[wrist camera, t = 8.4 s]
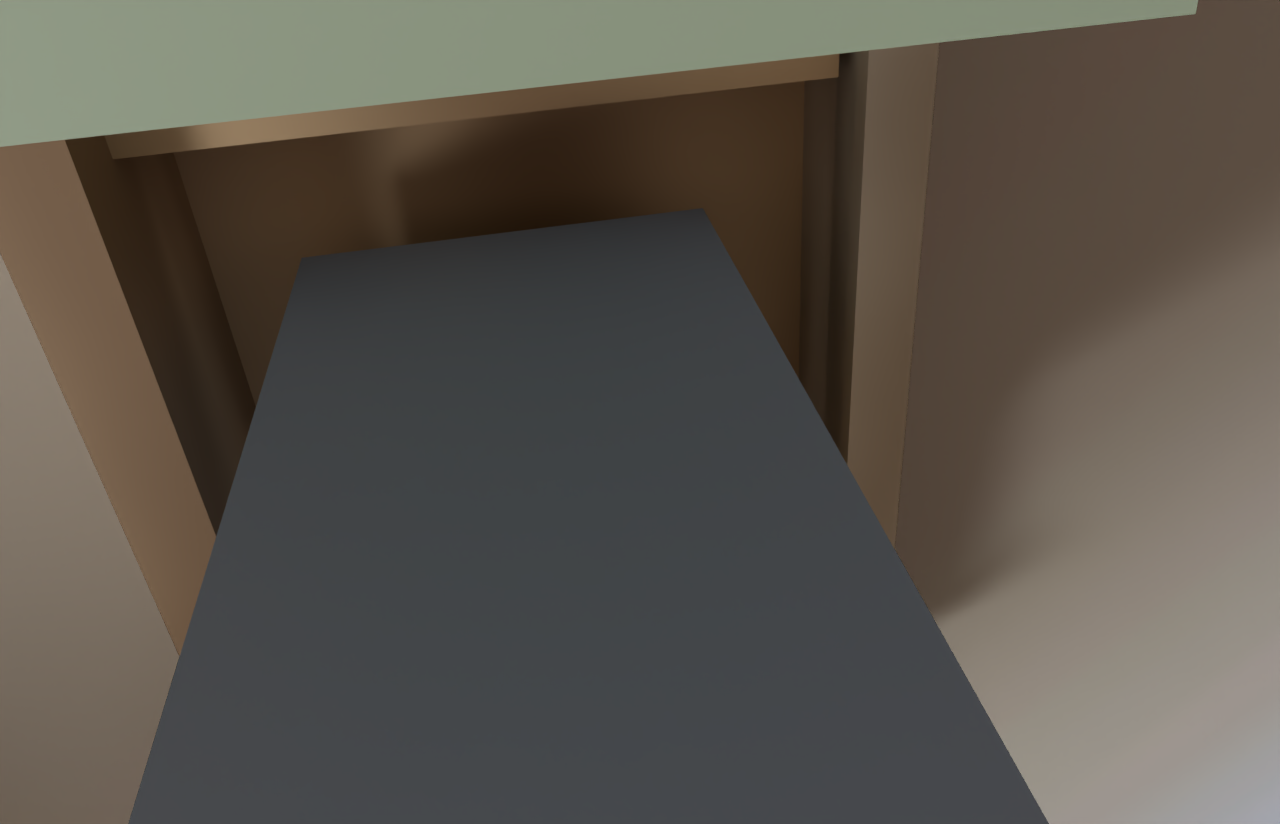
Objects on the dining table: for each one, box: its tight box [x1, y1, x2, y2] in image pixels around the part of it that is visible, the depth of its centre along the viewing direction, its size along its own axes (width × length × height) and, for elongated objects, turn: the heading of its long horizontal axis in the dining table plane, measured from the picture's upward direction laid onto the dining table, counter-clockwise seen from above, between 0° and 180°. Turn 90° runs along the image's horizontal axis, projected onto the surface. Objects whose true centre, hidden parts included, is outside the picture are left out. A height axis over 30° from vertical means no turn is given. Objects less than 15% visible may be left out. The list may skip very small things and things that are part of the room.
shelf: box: [0, 43, 940, 656], centre depth 12 cm, size 10×28×4 cm, turn 4°
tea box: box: [128, 208, 1049, 824], centre depth 11 cm, size 5×9×10 cm, turn 4°
